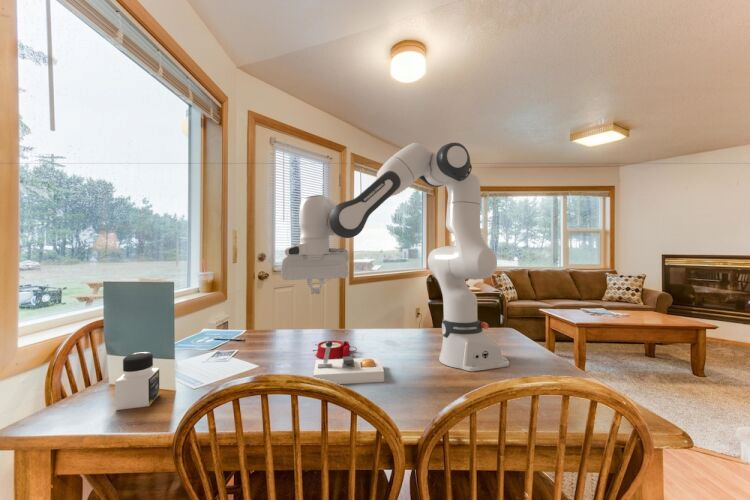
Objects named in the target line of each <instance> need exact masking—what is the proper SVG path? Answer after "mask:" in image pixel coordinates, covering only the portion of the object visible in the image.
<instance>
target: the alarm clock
mask: <svg viewBox="0 0 750 500" xmlns="http://www.w3.org/2000/svg"><path fill="white" fill-rule="evenodd" d="M327 341H328V340H326V341H322V342H319V343H318V344H315V346H317V349H315V350H314V349H313V350H312V352H316V351H317V352H316V353H315V356H316V357H317V358H318V359H320V360H324V356H325V351H326V342H327ZM330 341H331V342H332V347H331V348H330V353H329V358H328V360H331V359H342V358H343V357H350V353H352V352H356V351H357V349H358V348H357V347H356V346H353V349H354V348H355V350H350V349H351V345H350V343H349V342H348V341H347V340H346V341H344V342H342V341H340V340H339V341H338V340H330Z"/></svg>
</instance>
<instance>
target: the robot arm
mask: <svg viewBox="0 0 750 500" xmlns="http://www.w3.org/2000/svg"><path fill="white" fill-rule="evenodd" d="M472 168H473V166H472V163H471V158H470V154H469V151H468V149H467V148H466V146H464V145H463V144H462V143H459V142H450V143H446V144H444V145H443V146H441V147H440V148H439V149H437V150H436V151H435V152H431V151H430V150H428V147H426V146H425V145H424V144H422V143H419V142H413V143H410V144H408V145H407V146H404V147H403V148H401V149H400V150H399V151H397V152H395V154H393V155H392V156H390V157H389V158H388V159H387V160H386V161H385V162H384V163H383V165H382V166H381V167H380V168H379V169H378V170H377V172H376V178H375V179H374V181H373V182H372V183H371V184H370V185H369V186H368V187H367V188H366V189H364V190H363V191H362V192H361V193H359V195H358V196H356V197H355V198H353V199H350V200H347V201H344V202H343V201H342V202H340V203H336V202H334V201H332V200H330V199H329V198H327V197H326V196H325V195H323V194H322V195H321V194H320V195H319V194H317V195H311V196H308V197H305V198H304V199H303V200H301V202H300V205H299V212H298V214H299V218H298V219H299V223H298V224H299V228H300V235H299V244H294V245H293V246H290V247H287V248H285V250H284V254H285V256H284V257H283V258H282V262H281V266H280V267H281V268H280V274H281V275H280V277H281V279H282V280H283V281H298V280H299V281H300V280H306V284H307V285H308V287H309V289H310V294H311V295H321V293H322V287H323V285H324V283H325V279H326V280H327V279H347V277H348V276H349V266H348V262H349V260H350V253H349V251H348V250H347V249H345V248H343V247H341V248H335V247H333V248H332V247H331V248H330V236H334V237H336V238H344V239H350V238H354V237H356V236H357V235H359V234H360V233H361V232H362V231H363V229H364V228H365V226H366V223H367V221H368V219H369V217H370V215H372V213H373V212H374V211H376V210H377V209H378V208H379V207H380V206H381V205H382V204H384V202H385V201H387V200H388V199H390V197H393V196H397V195H398V194H400V193H403V192H404V191H405V190H406V189H408V188H409V187H411V186H412V184H414V183H415V182H416V181H417V180H418V179H420V180H421V181H422V182H423V183H424V184H426V185H427V186H428V187H433V188H440V187H442V186H445V188H446V191H447V203H446V219H445V226H446V227H445V228H446V229H447V231H449V232H450V233H451V234H452V235H453V236H454V239H455V244H456V245H444V246H441V247H440V246H439V247H437V248H434V249H432V250H431V251H430V252H429V254H428V256H427V266H428V267H427V268H428V269H429V270H430V272H431V273H432V274H433V276H434V277H435V278H436V280H437V283H438V285H439V287H440V290H441V294H442V301H443V302H442V305H443V306H442V307H443V317H442V322H441V332H442V333H441V334H442V343H441V349H440V354H439V357H438V362H440V363H442V365H445V366H448V367H451V368H456V369H460V370H461V369H462V370H464V371H468V372H477V371H484V370H491V369H499V368H506V367H509V366H510V362H509V360H508V359H507V357H505V356H503V354H502V350H501V347H500V344H499V343H498V342H497V340H495V339H493V337H491V336H490V335H489V334H488V333H487V332H485V331H483V330H487V329H488V328H489V323H487V322H485V321H481V320H479V319H478V298H477V295H476V294H475V293H474V292H473V291H472V290H471V289H470V288H469V286H468V285H467V282H466V280H473V281H475V280H484V279H488V278H491V277H492V276H493V275H494V273H495V272H496V270H497V267H498V260H497V256H496V254H495V252H494V250H492V249H491V247H489V246H488V245H487V243H486V242H485V240H484V238H483V235H482V231H481V208H482V207H481V204H482V196H481V195H482V193H481V192H482V191H481V185H480V179H479V177H478V176H477V175H476V174H474V173H471V172H472ZM313 280H319V282H318V283H320V284H319V286H318V287H314V286H313V284H312V283H313Z"/></svg>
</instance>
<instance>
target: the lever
mask: <svg viewBox="0 0 750 500" xmlns="http://www.w3.org/2000/svg"><path fill="white" fill-rule="evenodd" d="M326 341H327V342H326V351H325V356H324V359H323V360H324V361H323V364H327V362H328V360H329V359H328V358H329V353H330V348H331V347H332V342H331V341H332V340H326Z"/></svg>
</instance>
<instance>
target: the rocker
mask: <svg viewBox="0 0 750 500" xmlns="http://www.w3.org/2000/svg"><path fill="white" fill-rule="evenodd" d="M353 358H354V356H351V355H350V356H348V357H342V359H343V364H354V359H353Z"/></svg>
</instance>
